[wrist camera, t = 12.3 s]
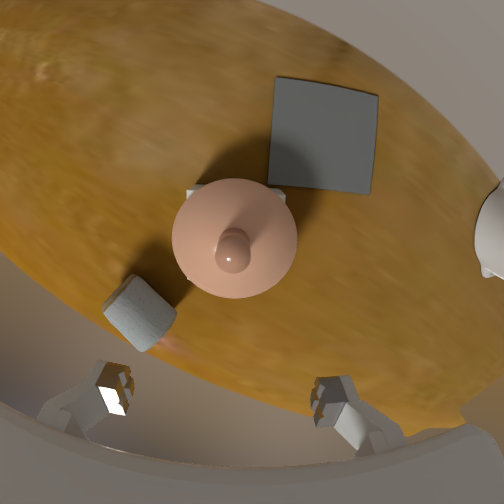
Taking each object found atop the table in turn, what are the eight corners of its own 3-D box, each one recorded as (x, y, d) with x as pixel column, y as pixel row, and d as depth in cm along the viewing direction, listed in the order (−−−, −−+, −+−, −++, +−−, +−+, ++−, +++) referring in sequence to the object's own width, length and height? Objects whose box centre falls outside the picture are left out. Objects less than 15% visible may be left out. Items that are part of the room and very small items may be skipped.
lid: (302, 183, 27) (313, 189, 23) (288, 297, 32) (295, 320, 27) (173, 176, 27) (160, 181, 22) (175, 291, 31) (166, 313, 27)
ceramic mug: (139, 261, 35) (117, 288, 28) (183, 302, 38) (170, 336, 30) (101, 303, 38) (79, 332, 31) (140, 338, 40) (125, 371, 33)
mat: (376, 97, 28) (377, 96, 28) (367, 194, 33) (369, 195, 33) (275, 78, 28) (275, 77, 27) (267, 183, 32) (267, 184, 32)
